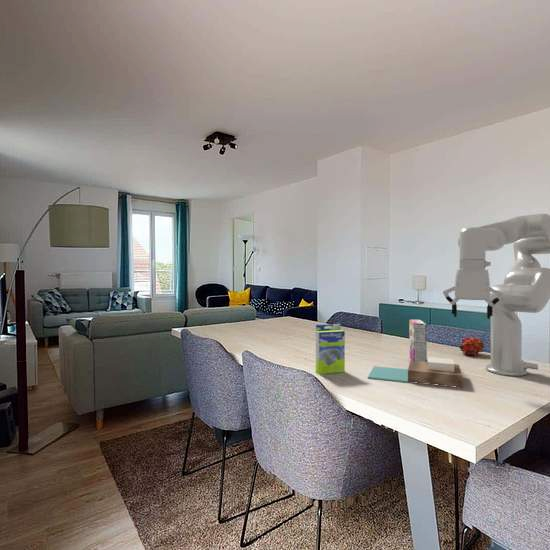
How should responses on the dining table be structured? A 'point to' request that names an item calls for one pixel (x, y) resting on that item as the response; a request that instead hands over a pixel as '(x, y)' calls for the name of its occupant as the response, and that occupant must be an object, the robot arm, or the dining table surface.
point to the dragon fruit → (471, 346)
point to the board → (433, 375)
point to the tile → (441, 364)
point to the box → (330, 349)
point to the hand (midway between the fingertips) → (471, 317)
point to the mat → (389, 374)
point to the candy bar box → (417, 340)
